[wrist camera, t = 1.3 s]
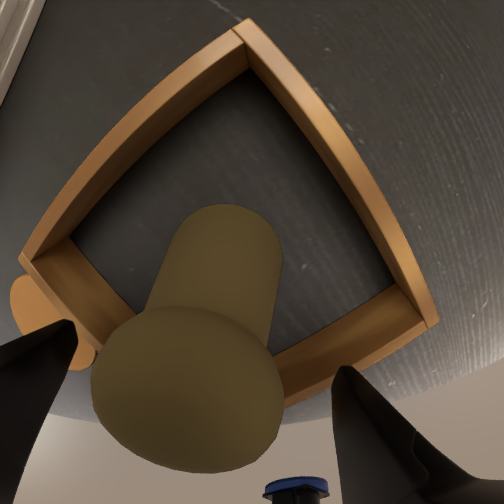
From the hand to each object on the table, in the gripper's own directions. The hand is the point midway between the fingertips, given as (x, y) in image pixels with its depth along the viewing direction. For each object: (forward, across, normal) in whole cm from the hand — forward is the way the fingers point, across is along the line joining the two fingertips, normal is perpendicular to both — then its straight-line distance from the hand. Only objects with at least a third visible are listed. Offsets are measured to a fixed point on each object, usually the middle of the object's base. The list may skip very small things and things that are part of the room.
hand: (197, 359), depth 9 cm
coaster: (+8, +14, +8) cm, 17 cm away
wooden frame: (+8, 0, 0) cm, 8 cm away
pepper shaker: (+8, 0, 0) cm, 8 cm away
